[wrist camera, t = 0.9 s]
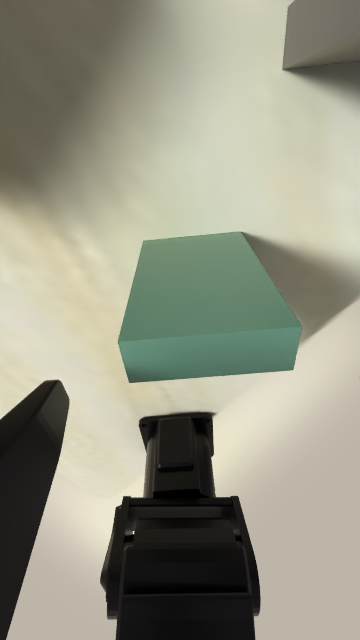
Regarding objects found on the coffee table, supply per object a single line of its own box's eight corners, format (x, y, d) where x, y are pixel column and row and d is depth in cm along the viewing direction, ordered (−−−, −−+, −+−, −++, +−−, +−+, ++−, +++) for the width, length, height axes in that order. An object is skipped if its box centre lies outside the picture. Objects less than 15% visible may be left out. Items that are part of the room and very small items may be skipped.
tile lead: (239, 261, 17) (293, 370, 9) (148, 270, 17) (129, 382, 9) (240, 231, 16) (302, 326, 8) (143, 240, 16) (117, 341, 8)
